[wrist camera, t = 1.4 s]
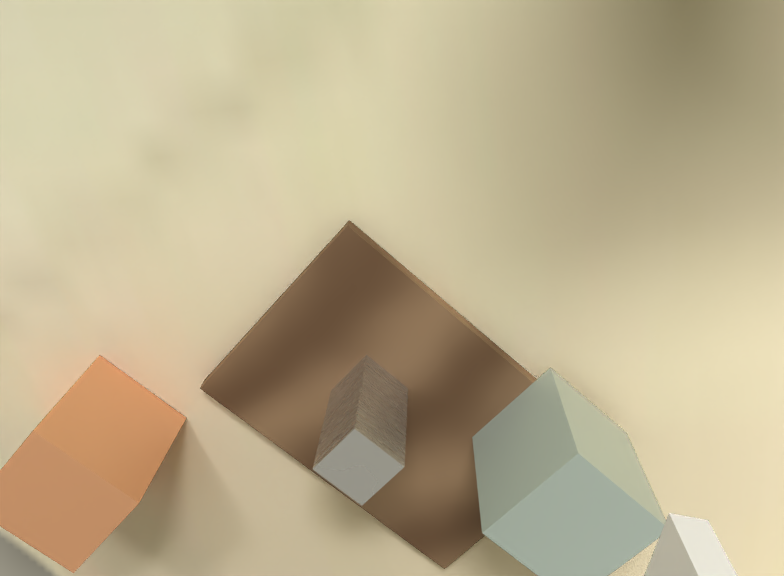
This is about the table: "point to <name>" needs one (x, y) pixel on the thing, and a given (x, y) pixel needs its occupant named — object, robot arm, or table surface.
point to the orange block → (86, 464)
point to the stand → (398, 357)
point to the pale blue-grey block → (563, 484)
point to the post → (363, 431)
